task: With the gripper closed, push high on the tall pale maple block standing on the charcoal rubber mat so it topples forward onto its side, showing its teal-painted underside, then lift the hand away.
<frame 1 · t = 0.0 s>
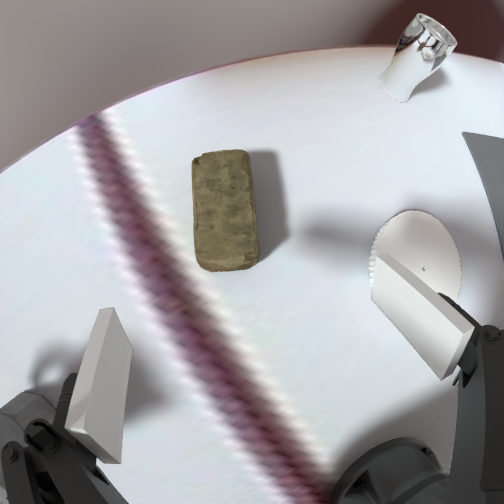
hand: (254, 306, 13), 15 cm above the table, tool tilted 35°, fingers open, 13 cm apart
plastic lid: (411, 271, 32), on the table
coffeepot: (35, 419, 23), on the table
stone block: (223, 218, 30), on the table
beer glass: (392, 89, 37), on the table
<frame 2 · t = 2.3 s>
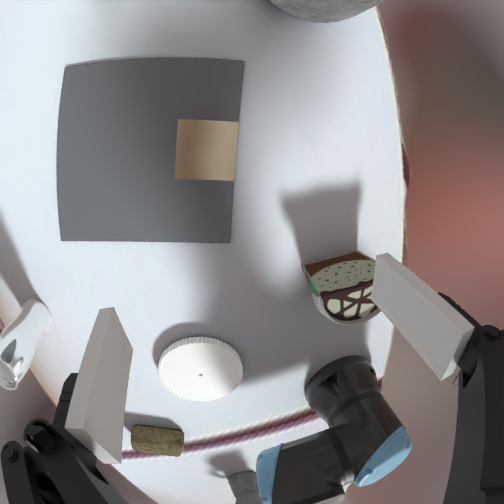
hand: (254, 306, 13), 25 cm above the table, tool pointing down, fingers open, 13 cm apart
plastic lid: (199, 364, 46), on the table
coffeepot: (241, 478, 65), on the table
stone block: (157, 431, 51), on the table
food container: (331, 274, 44), on the table
maple block: (203, 149, 33), resting on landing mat
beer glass: (38, 313, 37), on the table
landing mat: (140, 148, 32), on the table
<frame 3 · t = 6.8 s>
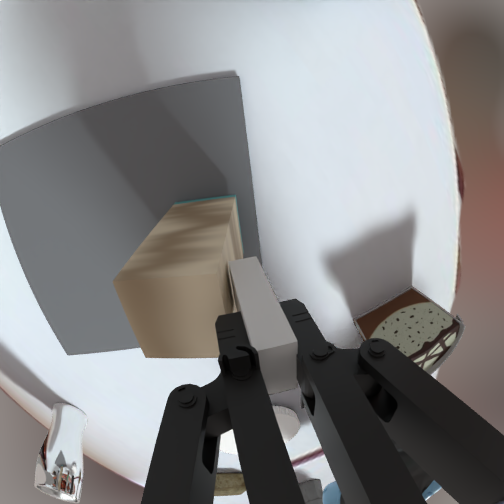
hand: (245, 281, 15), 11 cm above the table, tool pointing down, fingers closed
plastic lid: (253, 423, 40), on the table
coffeepot: (303, 485, 64), on the table
stone block: (218, 475, 49), on the table
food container: (384, 317, 35), on the table
maple block: (209, 227, 24), point 1 cm above the table, tilted 12°, touching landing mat
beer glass: (70, 412, 32), on the table
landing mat: (122, 240, 24), on the table
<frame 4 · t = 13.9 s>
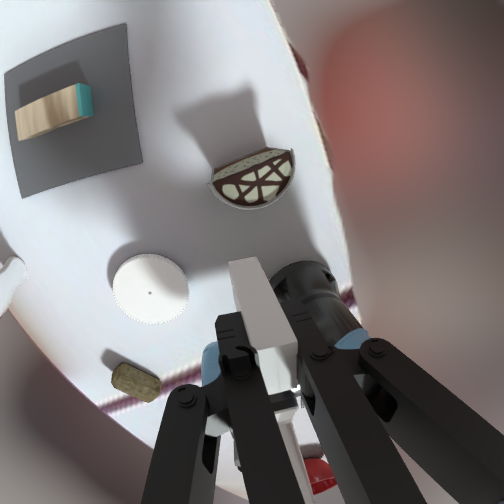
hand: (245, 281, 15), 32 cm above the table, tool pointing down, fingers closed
plastic lid: (151, 285, 51), on the table
stone block: (137, 375, 60), on the table
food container: (246, 174, 46), on the table
maple block: (86, 99, 32), point 3 cm above the table, tilted 90°, touching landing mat
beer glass: (17, 269, 43), on the table
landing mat: (63, 111, 34), on the table
mixing bowl: (302, 463, 102), on the table
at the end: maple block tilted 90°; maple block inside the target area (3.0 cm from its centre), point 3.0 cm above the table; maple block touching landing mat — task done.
